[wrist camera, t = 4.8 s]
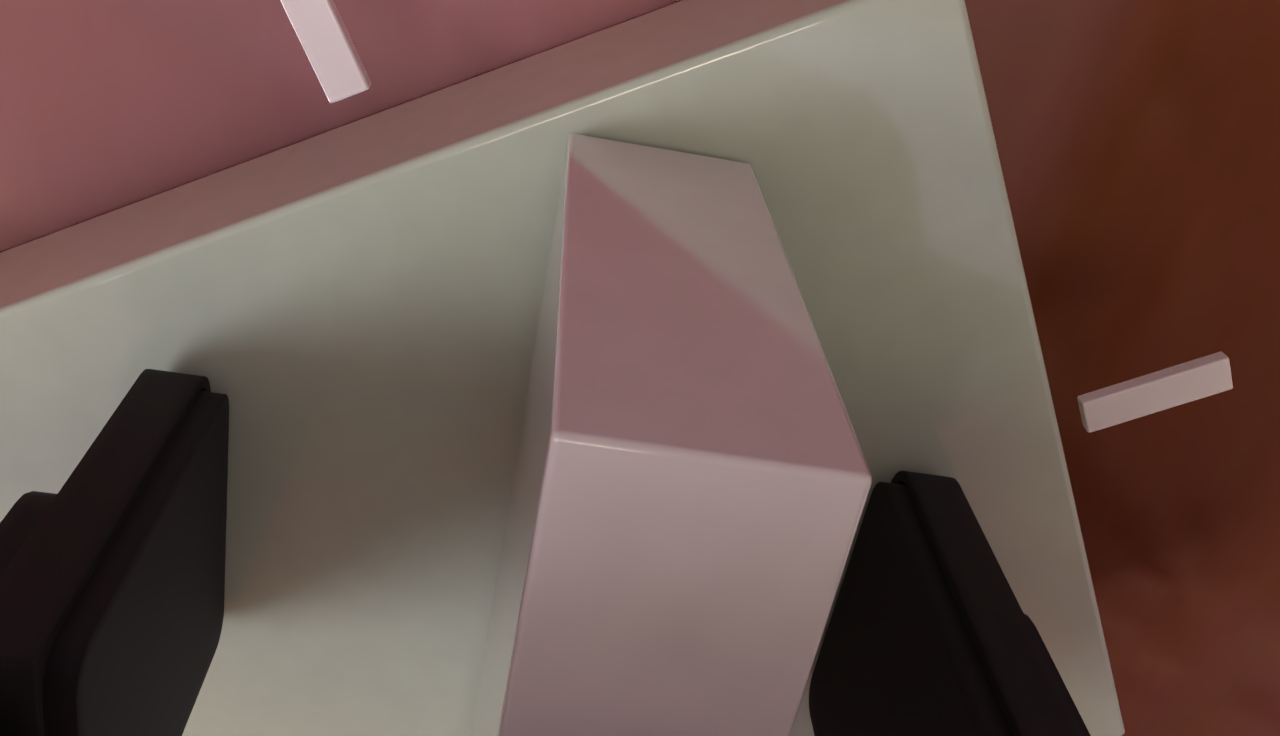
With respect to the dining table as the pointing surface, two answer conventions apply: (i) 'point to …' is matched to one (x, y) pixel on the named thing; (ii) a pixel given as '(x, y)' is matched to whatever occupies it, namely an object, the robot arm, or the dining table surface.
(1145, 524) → the dining table surface
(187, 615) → the robot arm
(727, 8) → the base
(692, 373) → the white rectangular block
